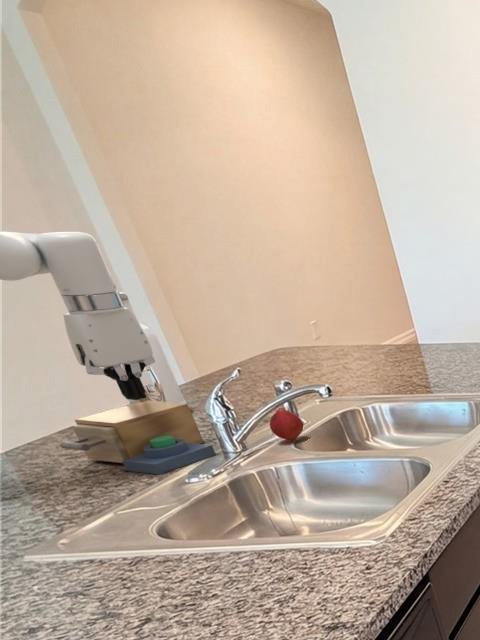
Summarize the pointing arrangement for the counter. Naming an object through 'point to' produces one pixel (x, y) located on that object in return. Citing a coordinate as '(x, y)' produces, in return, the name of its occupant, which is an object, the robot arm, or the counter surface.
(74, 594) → the counter surface
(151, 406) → the cabinet
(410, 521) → the counter surface
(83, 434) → the drawer
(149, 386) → the beer glass
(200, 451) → the block
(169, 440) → the button
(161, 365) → the bottle
